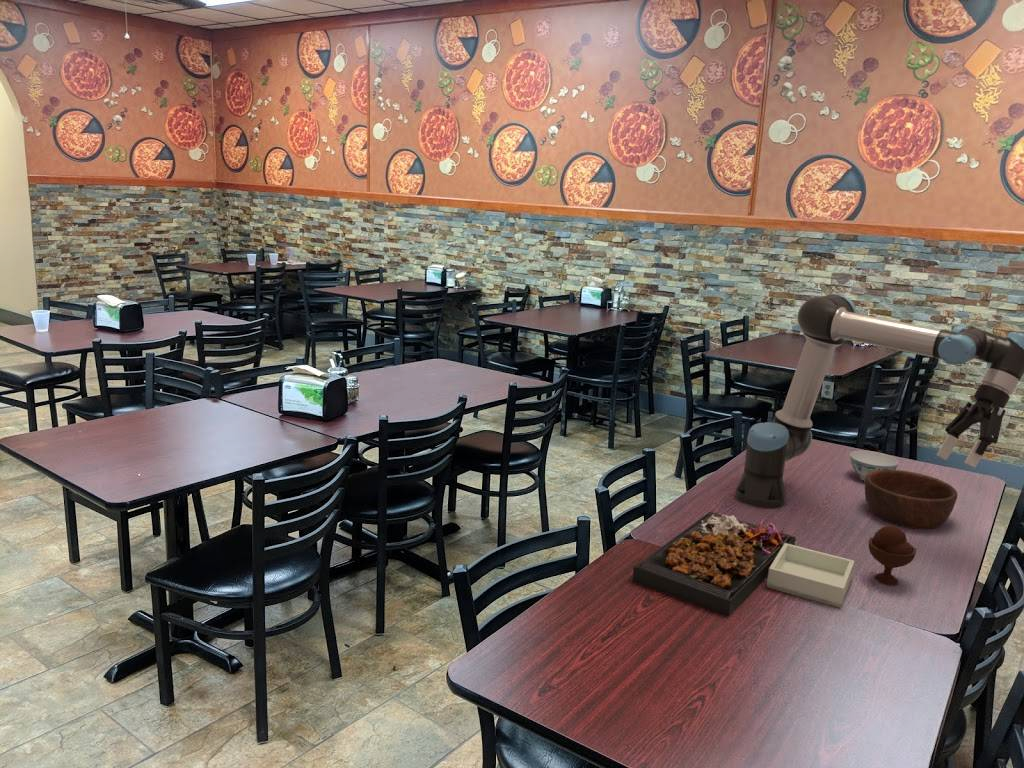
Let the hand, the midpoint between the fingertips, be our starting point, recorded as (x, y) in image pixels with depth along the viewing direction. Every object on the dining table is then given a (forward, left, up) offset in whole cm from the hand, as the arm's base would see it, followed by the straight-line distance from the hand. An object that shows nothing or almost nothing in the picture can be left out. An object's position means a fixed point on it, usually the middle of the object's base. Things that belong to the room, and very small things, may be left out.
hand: (955, 461), depth 208 cm
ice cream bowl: (-10, -23, -27) cm, 37 cm away
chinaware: (-23, +53, -27) cm, 64 cm away
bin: (-26, -36, -27) cm, 52 cm away
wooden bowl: (-10, +26, -27) cm, 39 cm away
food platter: (-48, -40, -28) cm, 69 cm away
